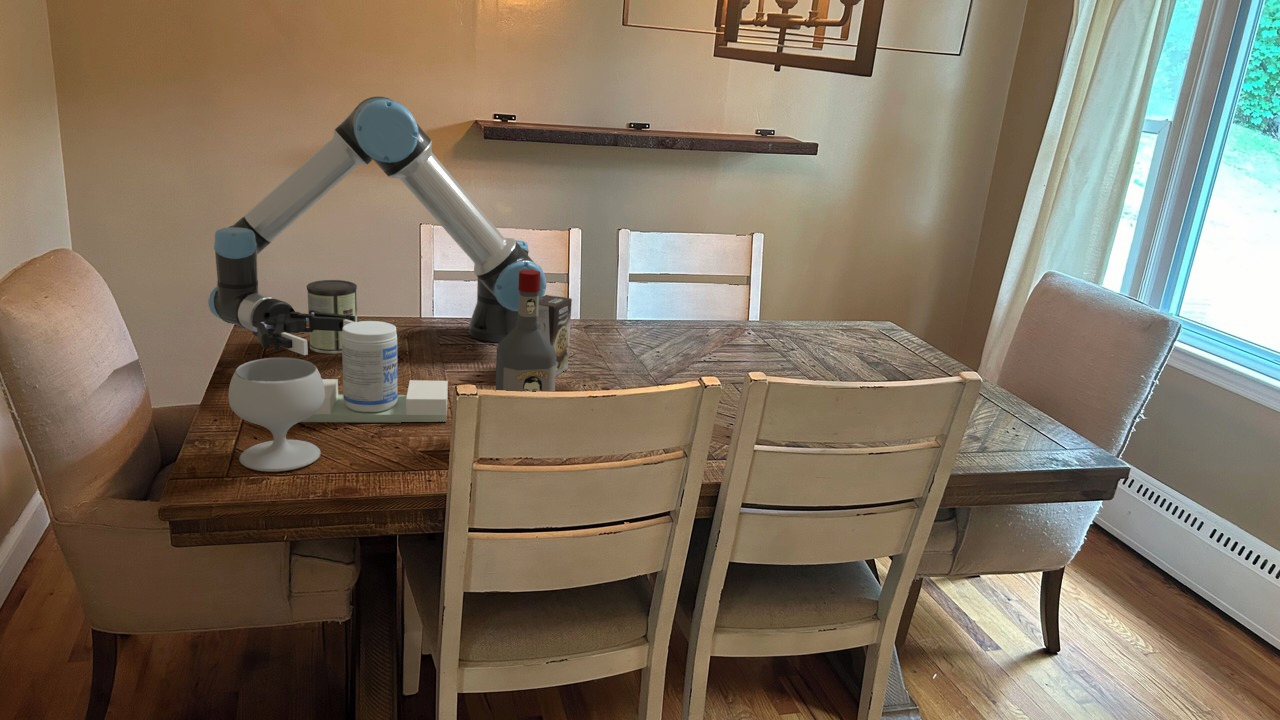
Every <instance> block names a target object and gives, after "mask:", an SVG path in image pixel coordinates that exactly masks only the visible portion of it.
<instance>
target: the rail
mask: <svg viewBox="0 0 1280 720" xmlns="http://www.w3.org/2000/svg"><path fill="white" fill-rule="evenodd" d="M322 381H323V384H324V389H325V398H324V401H323V404H322V406H321V407H320V409H319V410H318V411H317V412H316V413H315V414H313V415H312V416H310V417H309V418H307V419H305V420H303V421H300V422H299V423H401V422H438V421H440V422H441V421H443V422H444V421H445V422H446V423H447V417H446V416H448V415H447V414H448V390H449V389H448V386H449V383H448V381H449V380H426V379H425V380H417V379H416V380H415V379H412V380H411V379H410V380H409V384H408V388H407V391H406V392H407V394H397V403H396V404H395V406H393V407H392V408H390V409H387V410H384V411H378V412H359V411H354V410H351V409H349V408H348V407H347V406H346V405H345V404H344V398H343V394H342V393H341V394H339V379H335V378H325V379H324V378H322Z"/></svg>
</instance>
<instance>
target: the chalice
mask: <svg viewBox="0 0 1280 720" xmlns="http://www.w3.org/2000/svg"><path fill="white" fill-rule="evenodd" d="M321 376H322V375H321V373H320V371H319V370H318V368H317V365H315V364H314V363H312V362H310V361H308V360H305V359H301V358H296V357H269V358H268V357H267V358H259V359H255V360H250V361H248V362H244V363H243V364H241V365H239V366H238V367H236V369H235V371H234V373H233V375H232V377H231V380H230V383H229V387H228V394H227V395H228V403H229V404H228V405H229V406H230V408H231V410H232V411H233V412H234V414H235V415H236V416H237V417H239V418H240V419H242V420H244V421H247V422H249V423H252V424H255V425H259V426H261V427H263V428H266V429H267V430H268V431H270V433H271V434H272V436H273V439H272V440H269V441H265V442H260V443H256V444H254V445H252V446H250V447H247V448H246V449H245V450H244V451H243V452H241V453H240V455H239V458H238V461H239V462H240V464H241V465H243V466H244V467H245V468H247V469H251V470H254V471H260V472H274V473H275V472H277V473H278V472H286V471H292V470H293V471H294V470H298V469H301V468H304V467H306V466H309V465H311V464H312V463H315V462H316V461H317V460H319V458H320V457H321V456H322V455H321V454H322V452H321V449H320V448H319V447H318V446H317V445H315V444H314V443H312V442H308V441H306V440H299V439H287V434H288V432H289V430H290V429H291V428H292V427H293V426H294V425H296V424H298V423H301V422H300V421H303V420H305V419H307V418H309V417H310V416H312V415H313V414H315V413H316V412H317V411H318V410H319V409H320V407H321V406H322V404H323V401H324V398H325V389H324V384H323V381H322V379H323V378H322V377H321Z"/></svg>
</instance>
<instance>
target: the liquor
mask: <svg viewBox="0 0 1280 720" xmlns="http://www.w3.org/2000/svg"><path fill="white" fill-rule="evenodd" d="M518 290H519V307H518V320H517V322H516V327H515V328H514V329H513V330H512V331H511V332H510V333H509V334H508V335H507V336H506V337H505V338H504V339H503V340H502V341H500V342H498V346H497V347H496V361H495V362H496V363H495V365H496V367H495V391H496V390H506V391H532V392H536V391H555V392H556V378H557V376H556V358H557V356H556V352H555V349H554V348H553V346H552V345H551V344H550V342H549V341H548V340H547V338H546V337H545V336H544V334H543V333H542V332H541V330H540V329H539V323H538V302H539V291H540V272H539V271H536V270H521V271H519V286H518Z"/></svg>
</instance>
